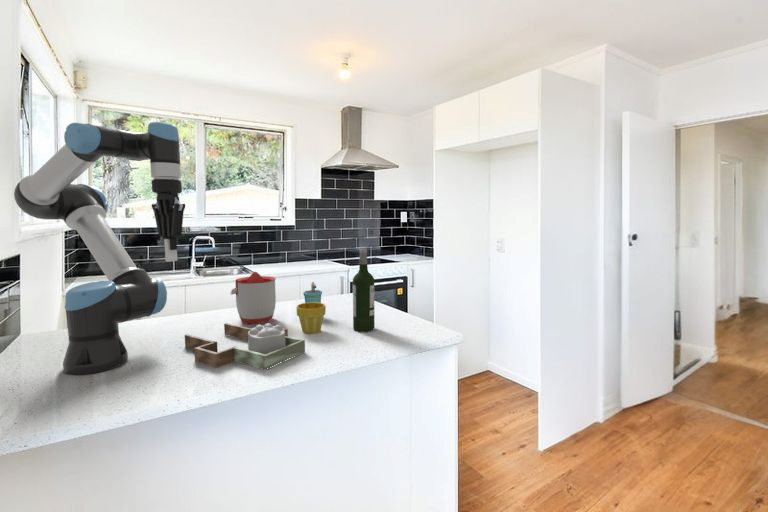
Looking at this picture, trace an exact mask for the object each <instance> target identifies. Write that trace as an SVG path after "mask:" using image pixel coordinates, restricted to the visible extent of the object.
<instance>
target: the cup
mask: <svg viewBox="0 0 768 512" xmlns="http://www.w3.org/2000/svg"><path fill="white" fill-rule="evenodd" d="M316 288H317V285H316V283H315V282H314V281H311V289H310V290H305V291H304V292H303V296H304V297H303V298H304V303H307V302H319V303H322V295H323V291H322V290H319V289H316Z"/></svg>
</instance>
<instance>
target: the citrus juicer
mask: <svg viewBox="0 0 768 512" xmlns="http://www.w3.org/2000/svg"><path fill="white" fill-rule="evenodd" d="M233 295H235V302H236V304H235V305H236V310H237V314H238V315H239V316H238V317H239V319H240V321H241V322H242V323H243V324H247V325H252V324H253V325H255V324H256V325H258V324H263V323H268V322H270V321H271V320H272V319H273V318H274V314H275V309H276V303H277V302H276V300H277V299H276V297H277V296H276V277H274V276H269V275H268V276H266V275H263V276H262V275H260V273H259V272H257V271H253V273H251V274H250V276H244V277H239V278H236V279H235V287H234V288H232V289H231V290H230V296H233Z"/></svg>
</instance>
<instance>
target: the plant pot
mask: <svg viewBox="0 0 768 512" xmlns="http://www.w3.org/2000/svg"><path fill="white" fill-rule="evenodd" d="M326 306H327V305H326V304H325V303H323V302H321V303H319V302H307V303H305V302H303V303H299V304H298V305H296V316H297V317H298V319H299V324H300V327H301V332H302V333H303V334H307V335H310V334H311V335H313V334H318V333H321V331H322V325H323V320H324V316H325V315H326V310H327V309H326V308H327V307H326Z"/></svg>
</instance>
